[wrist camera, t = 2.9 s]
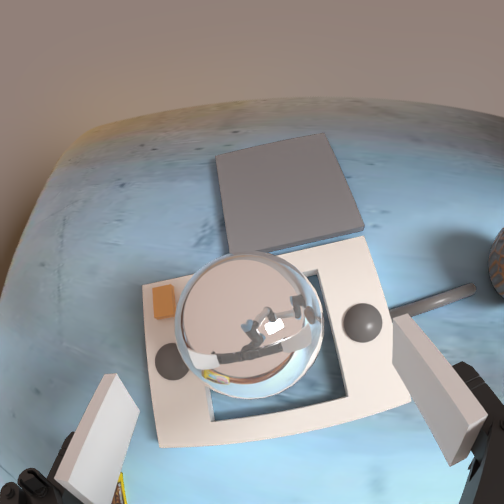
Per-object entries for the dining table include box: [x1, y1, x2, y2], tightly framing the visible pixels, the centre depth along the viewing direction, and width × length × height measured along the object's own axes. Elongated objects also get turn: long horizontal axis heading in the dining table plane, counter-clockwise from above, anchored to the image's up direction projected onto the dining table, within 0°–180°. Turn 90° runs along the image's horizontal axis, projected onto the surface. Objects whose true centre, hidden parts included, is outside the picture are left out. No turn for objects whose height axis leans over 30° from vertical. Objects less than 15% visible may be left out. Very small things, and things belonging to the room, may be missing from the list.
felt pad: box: [215, 133, 364, 253], centre depth 27 cm, size 11×11×1 cm
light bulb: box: [174, 251, 324, 400], centre depth 16 cm, size 7×7×12 cm
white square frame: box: [142, 236, 476, 448], centre depth 21 cm, size 26×13×2 cm, turn 100°
